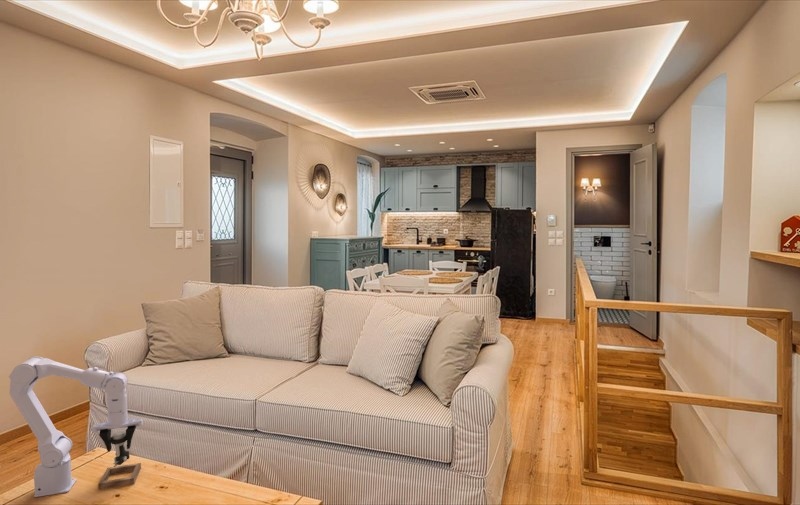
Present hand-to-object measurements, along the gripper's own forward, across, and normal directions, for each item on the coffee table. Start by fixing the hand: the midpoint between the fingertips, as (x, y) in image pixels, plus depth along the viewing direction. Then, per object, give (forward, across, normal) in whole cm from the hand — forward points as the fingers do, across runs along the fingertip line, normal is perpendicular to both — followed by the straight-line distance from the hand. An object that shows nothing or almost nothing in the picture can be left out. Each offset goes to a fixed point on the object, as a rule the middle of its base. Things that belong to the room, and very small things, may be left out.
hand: (119, 449), depth 160 cm
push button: (+5, 0, 0) cm, 5 cm away
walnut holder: (+10, 0, 0) cm, 10 cm away
